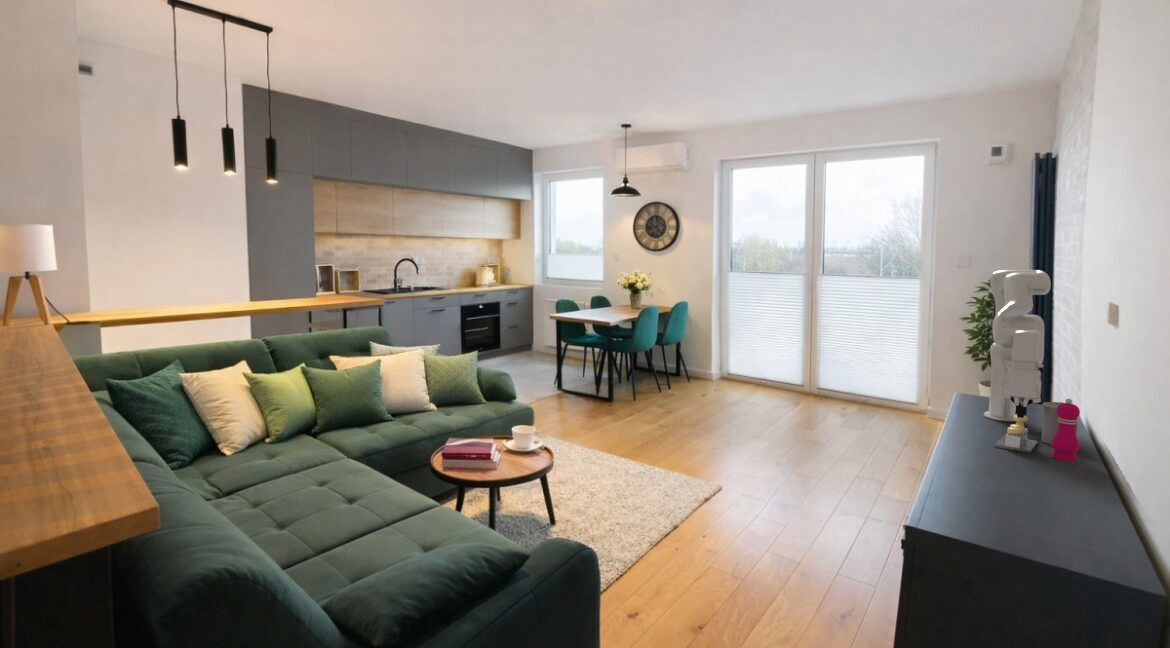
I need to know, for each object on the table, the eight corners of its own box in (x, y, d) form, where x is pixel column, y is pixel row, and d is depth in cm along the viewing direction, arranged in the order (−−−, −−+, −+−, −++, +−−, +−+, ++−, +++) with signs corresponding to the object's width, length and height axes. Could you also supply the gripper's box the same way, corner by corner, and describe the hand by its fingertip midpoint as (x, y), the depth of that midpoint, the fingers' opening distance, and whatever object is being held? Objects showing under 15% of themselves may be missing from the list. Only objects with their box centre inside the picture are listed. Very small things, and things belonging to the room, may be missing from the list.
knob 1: (1013, 429, 219) (1014, 414, 218) (1027, 431, 216) (1028, 416, 216) (1011, 432, 216) (1012, 416, 216) (1025, 434, 214) (1026, 418, 213)
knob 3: (1007, 441, 213) (1008, 426, 212) (1021, 444, 210) (1022, 428, 209) (1005, 444, 210) (1006, 428, 209) (1019, 447, 207) (1020, 431, 207)
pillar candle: (1076, 442, 216) (1079, 400, 215) (1074, 448, 209) (1076, 405, 208) (1042, 437, 223) (1045, 397, 221) (1039, 443, 216) (1041, 401, 214)
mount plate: (1003, 438, 222) (1004, 424, 221) (1037, 443, 215) (1038, 430, 214) (994, 446, 212) (995, 433, 211) (1029, 453, 205) (1030, 438, 204)
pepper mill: (1068, 455, 203) (1073, 396, 201) (1083, 462, 196) (1089, 401, 194) (1045, 454, 204) (1049, 396, 201) (1059, 461, 197) (1064, 401, 194)
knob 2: (1010, 439, 216) (1011, 423, 216) (1024, 441, 213) (1025, 425, 213) (1008, 441, 213) (1009, 426, 213) (1022, 444, 211) (1023, 428, 210)
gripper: (1052, 366, 211) (1048, 418, 213) (1001, 361, 221) (997, 411, 223) (1049, 369, 206) (1045, 422, 208) (996, 364, 216) (993, 415, 218)
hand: (1020, 416), depth 215 cm, fingers closed
